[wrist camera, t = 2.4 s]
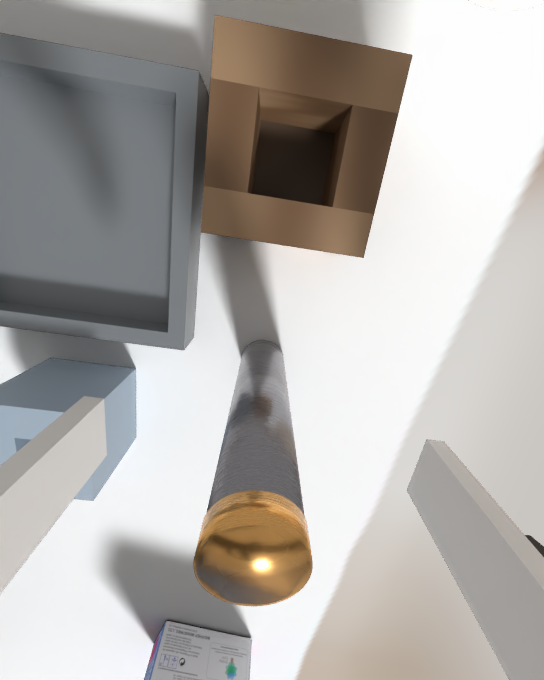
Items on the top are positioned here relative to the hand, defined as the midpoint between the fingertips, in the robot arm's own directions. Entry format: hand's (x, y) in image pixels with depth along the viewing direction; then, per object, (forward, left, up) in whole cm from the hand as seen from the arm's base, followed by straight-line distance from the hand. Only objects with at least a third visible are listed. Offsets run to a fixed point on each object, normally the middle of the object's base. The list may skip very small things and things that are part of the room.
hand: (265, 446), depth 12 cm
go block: (0, +12, -9) cm, 15 cm away
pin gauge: (0, 0, -9) cm, 9 cm away
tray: (-12, +8, -9) cm, 17 cm away
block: (-12, -5, -10) cm, 16 cm away
